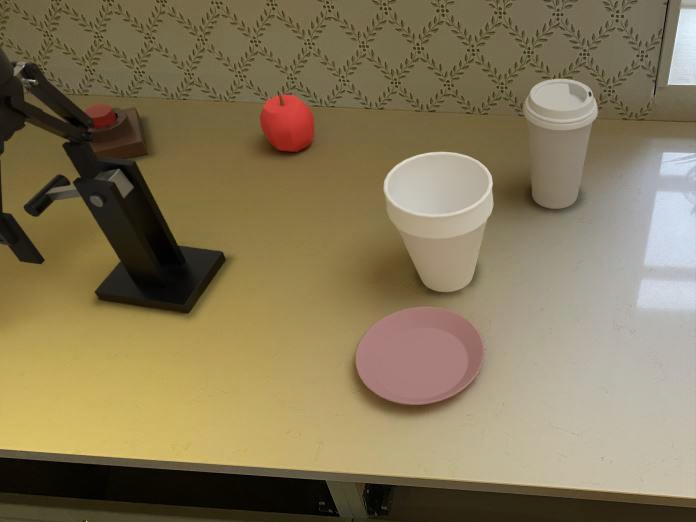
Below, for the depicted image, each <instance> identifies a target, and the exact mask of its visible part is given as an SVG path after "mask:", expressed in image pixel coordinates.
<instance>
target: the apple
mask: <svg viewBox="0 0 696 522" xmlns="http://www.w3.org/2000/svg"><path fill="white" fill-rule="evenodd" d="M259 122H260V128H261V130H262V131H263V133H264V135H265V137H266V139H267V140H268V142H269V144H270V145H272V146H273V147H274V148H275V149H276V150H278V151H281V152H287V153H298V152H300V151H302V150H305V149H306V148H307V147H308V146H310V145H312V143H313V142H312V141H313V139H314V137H315V116H314V115H313V112H312V110H311V108H310V106H308V105H307V104H306V103H305V102H304V101H302V100H301V99H300V98H299V97H298V96H296V95H294V94H278V95H275V96H273V97H271V98H267V99H266V101H265V103H264V105H263V107H262V109H261V112H260V115H259Z"/></svg>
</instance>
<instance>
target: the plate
mask: <svg viewBox="0 0 696 522" xmlns="http://www.w3.org/2000/svg"><path fill="white" fill-rule="evenodd" d="M485 349H486V348H485V343H484V340H483V337H482V335H481V333H480V331H479V330H478V328H477V327H476V326H475V325H474V324H473V323H472V322H471V321H470V320H469V319H468V318H466V317H465V316H463V315H462V314H460V313H458V312H456V311H453V310H451V309H448V308H443V307H437V306H414V307H408V308H404V309H400V310H397V311H394V312H391V313H389V314H387V315H385V316H383V317H382V318H380V319H379V320H378V321H376V322H375V323H373V325H371V326H370V327H369V328H368V329H367V330H366V332H365V333H364V334H363V336H362V337H361V339H360V341H359V343H358V345H357V348H356V352H355V367H356V371H357V374H358V376H359V378H360V380H361V382H362V383H363V385H365V386H366V387H367V389H368V390H370V391H371V392H372V393H374V394H375V395H376V396H378V397H380V398H382V399H384V400H387V401H389V402H393V403H395V404H396V403H397V404H401V405H410V406H420V405H421V406H422V405H430V404H435V403H438V402H441V401H444V400H447V399H449V398H451V397H454V396H455V395H457V394H459V393H460V392H461V391H462V392H463V390H464V389H466V388H467V387H468V386H469V385H471V383H472V382H473V381H474V380H475V379H476V377H477V376H478V375H479V372H480V371H481V369H482V367H483V364H484V361H485V353H486V352H485Z"/></svg>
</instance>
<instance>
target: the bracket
mask: <svg viewBox="0 0 696 522" xmlns="http://www.w3.org/2000/svg"><path fill="white" fill-rule="evenodd" d="M95 163H96V165H97V167H98V168H99V170H100V172H104V171H110V170H116V169H120V170H121V171H122V173H123V174H124V175H125V176H126V178H127V179H128V180H129V181H130V183H131V184H132V185H133V186H134V188H133V189H132V190H131V191H130V192H129V193H128V194H127V195H126V197H125V198H123V196H122V194H121V193H120V191H119V189H118V187H117V185H116V184H115V182H112V181H104V180H96V179H88V178H81V177H80V176H78V177H76V178H75V179H74V180H73V181H72V185H74V186H75V187H76V189H77V191H78V192H79V194H80V196H81V197H80V198H81V199H82V201H83V202H84V204H85V206H86V207H87V209H88V211H89V212H90V214H91V215H92V217H93V218H94V221H95V222H96V223H97V225H98V227H99V228H100V230H101V231H102V233H103V235H104V237H105V238H106V240H107V241H108V243H109V244H110V247H111V248H112V250H113V251H114V253H115V254H116V256H117V257H118V259H119V262H118V263H117V265H116V266H114V268H113V269H112V270H111V271H110V273H109V274H108V275H107V276H106V277H105V278H104V279H103V281H102V282H101V283H100V284H99V286H98V287H97V288H96V289H95V290H94V294H95V295H96V297H97V298H98V299H99V301H105V302H111V303H112V302H113V303H117V304H124V305H131V306H138V307H143V308H149V309H150V308H151V309H157V310H161V311H170V312H174V313H175V312H176V313H184V314H189V313H190V312H191V311H192V309H193V308H194V306H195V305H196V304H197V302H198V301H199V299H200V298H201V297H202V295H203V294H204V293H205V291H206V289H207V288H208V286H209V285H210V284H211V282H212V280H213V279H214V278H215V277H216V275H217V274H218V272H219V270H220V269H221V268H222V267H223V265H224V264H225V262H226V260H227V258H226V256H225V253H224V252H223V250H215V249H207V248H199V247H193V246H186V245H180V244H178V242H177V241H176V240H177V239H176V238H175V236H174V235H173V232H172V230H171V229H170V227H169V225H168V223H167V220H166V219H165V216H164V214H163V213H162V211H161V209H160V206H159V205H158V203H157V200H156V198H155V197H154V195H153V193H152V191H151V189H150V187H149V185H148V183H147V181H146V180H145V177H144V176H143V174H142V171H141V169H140V167H139V166H138V163H137V162H136V160H132V159H117V158H109V157H101V156H99V157H98V158H97V159H96V160H95Z"/></svg>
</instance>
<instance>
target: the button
mask: <svg viewBox="0 0 696 522" xmlns="http://www.w3.org/2000/svg"><path fill="white" fill-rule="evenodd" d="M112 108H113V107H112V106H111V105H110V104H106V103H98V104H94V105H91V106H89V107H87V108H86V109H84V110H83V111H84V112H85V113H86V114H87V115H88V116H89V117H90V118H92V119H93V121H94V127H103V126H107V125H109V124H111V123H113V122H115V121H116V119H117V117H116V115H115V113H114V111H113V109H112Z"/></svg>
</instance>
